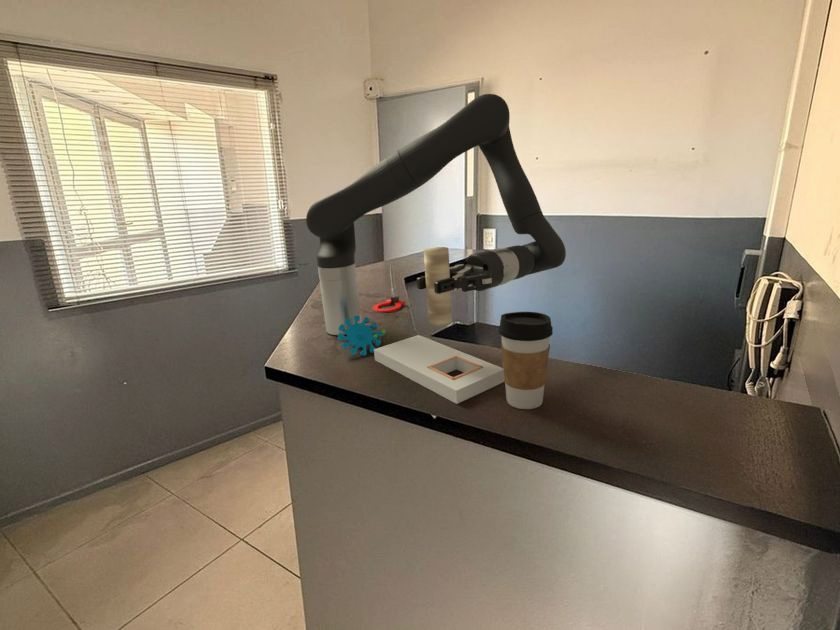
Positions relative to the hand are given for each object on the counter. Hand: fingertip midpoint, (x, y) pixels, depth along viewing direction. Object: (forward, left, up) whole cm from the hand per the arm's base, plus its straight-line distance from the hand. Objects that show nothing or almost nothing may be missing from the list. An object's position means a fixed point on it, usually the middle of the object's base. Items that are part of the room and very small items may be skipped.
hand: (427, 285), depth 79 cm
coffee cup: (+18, +5, -18) cm, 26 cm away
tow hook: (-45, +20, -18) cm, 53 cm away
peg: (0, +3, -8) cm, 8 cm away
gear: (-22, -3, -18) cm, 28 cm away
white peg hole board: (-2, +2, -18) cm, 18 cm away
